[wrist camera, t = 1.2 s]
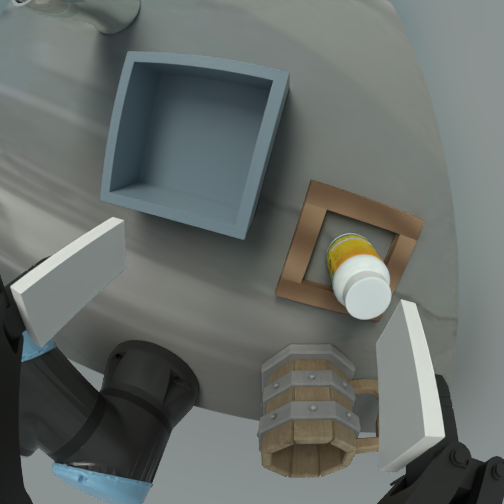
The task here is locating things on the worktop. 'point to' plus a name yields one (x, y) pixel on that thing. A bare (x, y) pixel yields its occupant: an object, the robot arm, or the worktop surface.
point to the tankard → (311, 411)
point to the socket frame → (308, 229)
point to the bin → (193, 138)
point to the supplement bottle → (358, 276)
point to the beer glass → (87, 11)
